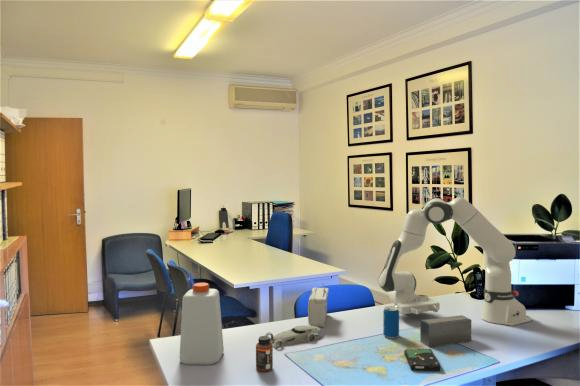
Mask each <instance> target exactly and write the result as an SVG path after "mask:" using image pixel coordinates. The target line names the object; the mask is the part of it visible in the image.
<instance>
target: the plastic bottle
mask: <svg viewBox="0 0 580 386" xmlns="http://www.w3.org/2000/svg"><path fill="white" fill-rule="evenodd" d="M181 305H182V306H181V322H180V323H181V324H180V341H179V343H180V345H179V361H180V362H181V363H182V364H184V365H191V366H193V365H194V366H195V365H197V366H198V365H201V366H202V365H204V366H205V365H209V366H210V365H214V364H216V363H219V361H220V360H221V357H222V355H223V353H224V349H225V348H224V336H223V335H224V334H223V323H222V314H221V313H222V311H221V302H220V291H219V290H218V289H216V288H210V283H207V282H196V283H193V285H192V288H191V289H189V290H188V291H187V292H185V294H184V295H183V296H182V304H181Z"/></svg>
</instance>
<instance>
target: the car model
mask: <svg viewBox="0 0 580 386" xmlns="http://www.w3.org/2000/svg"><path fill="white" fill-rule="evenodd" d="M318 332H321V327H316V326H310V325H298V326H297V325H296V326H294V327H293V328H290V329H288V330H285V331H282V332H280V333H278V334H276V335H274V333H272V332H266V333H265V334H264V336H268V337H269V336H270V342H271V343H272V345H273V348H275V349H280V348H283V347H286V346H290V345H295V344H301V343H312V342H314V341H315V342H316V341H317V340H318V339H320V338H321V336H320V335H319V334H315V333H318Z"/></svg>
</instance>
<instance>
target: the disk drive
mask: <svg viewBox="0 0 580 386" xmlns="http://www.w3.org/2000/svg"><path fill="white" fill-rule="evenodd" d="M403 352H404V357H405V359H406V362H407V363H408V366H409V369H410V370H411V371H412V372H413V371H415V372H441V371H442V370H441V369H442V367H441V363H440V362H439V360H438V359H437V357H436V355H435V353H434V352H433V350H432V349H430V348H415V349H414V348H412V349H411V348H405V349H404V351H403Z"/></svg>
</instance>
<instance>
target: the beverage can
mask: <svg viewBox="0 0 580 386" xmlns="http://www.w3.org/2000/svg"><path fill="white" fill-rule="evenodd" d="M382 314H383V321H382V322H383V329H382V330H383V336H384V337H386V338H388V339H397V338H398V337H399V336H400V312H399V310H398V308H397V307H394V306H385V307H384V309H383V313H382Z"/></svg>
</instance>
